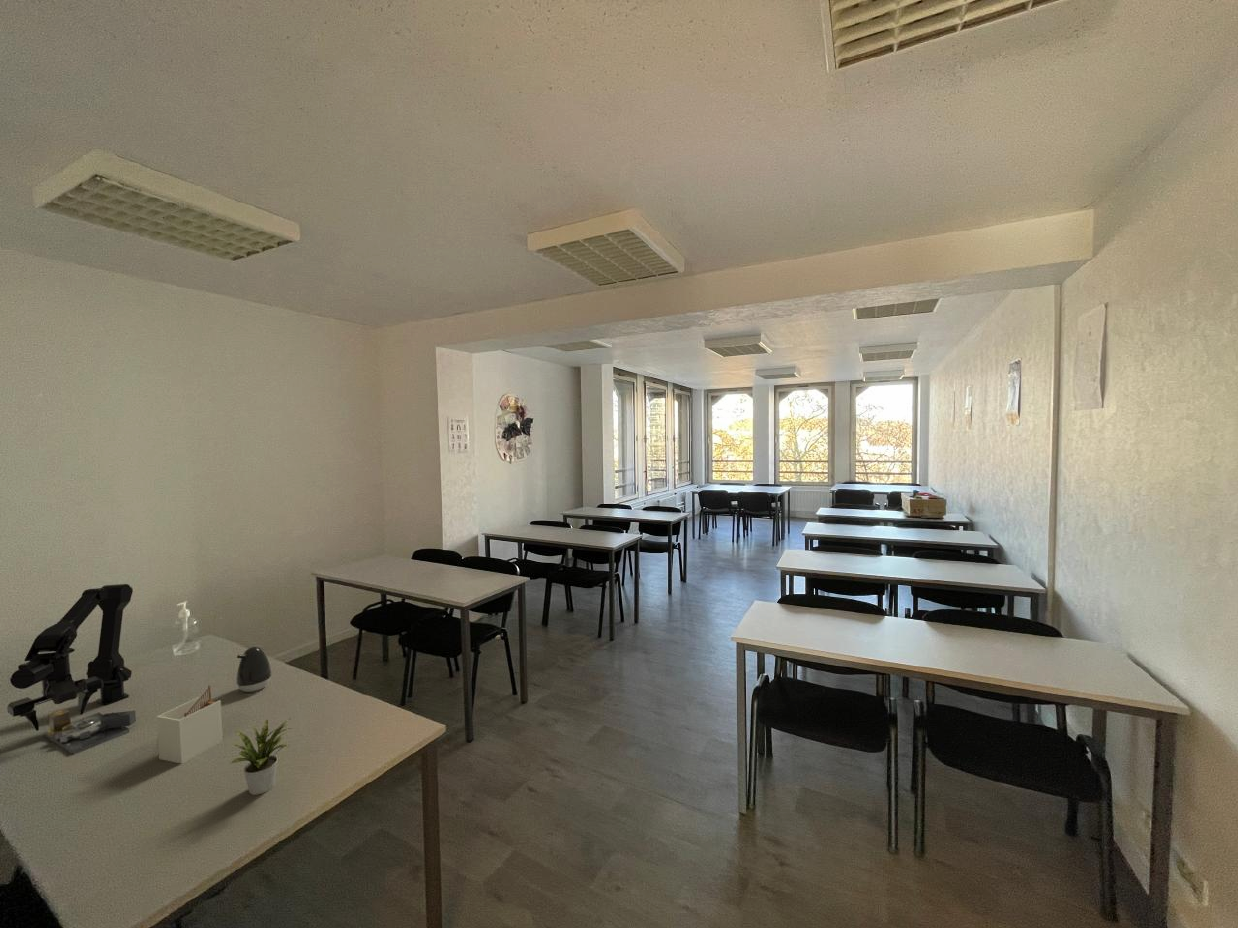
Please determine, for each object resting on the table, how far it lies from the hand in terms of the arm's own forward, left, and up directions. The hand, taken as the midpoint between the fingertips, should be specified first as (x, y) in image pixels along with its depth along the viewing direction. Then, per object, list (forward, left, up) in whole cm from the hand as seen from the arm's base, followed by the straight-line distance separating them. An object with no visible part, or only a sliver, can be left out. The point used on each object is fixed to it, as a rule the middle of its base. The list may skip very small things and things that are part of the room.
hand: (59, 722), depth 150 cm
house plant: (+86, +13, -3) cm, 87 cm away
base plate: (+9, +3, -3) cm, 10 cm away
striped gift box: (0, 0, -2) cm, 2 cm away
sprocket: (+11, +5, -2) cm, 12 cm away
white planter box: (+48, +13, -4) cm, 50 cm away
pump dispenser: (+26, +41, -3) cm, 48 cm away
